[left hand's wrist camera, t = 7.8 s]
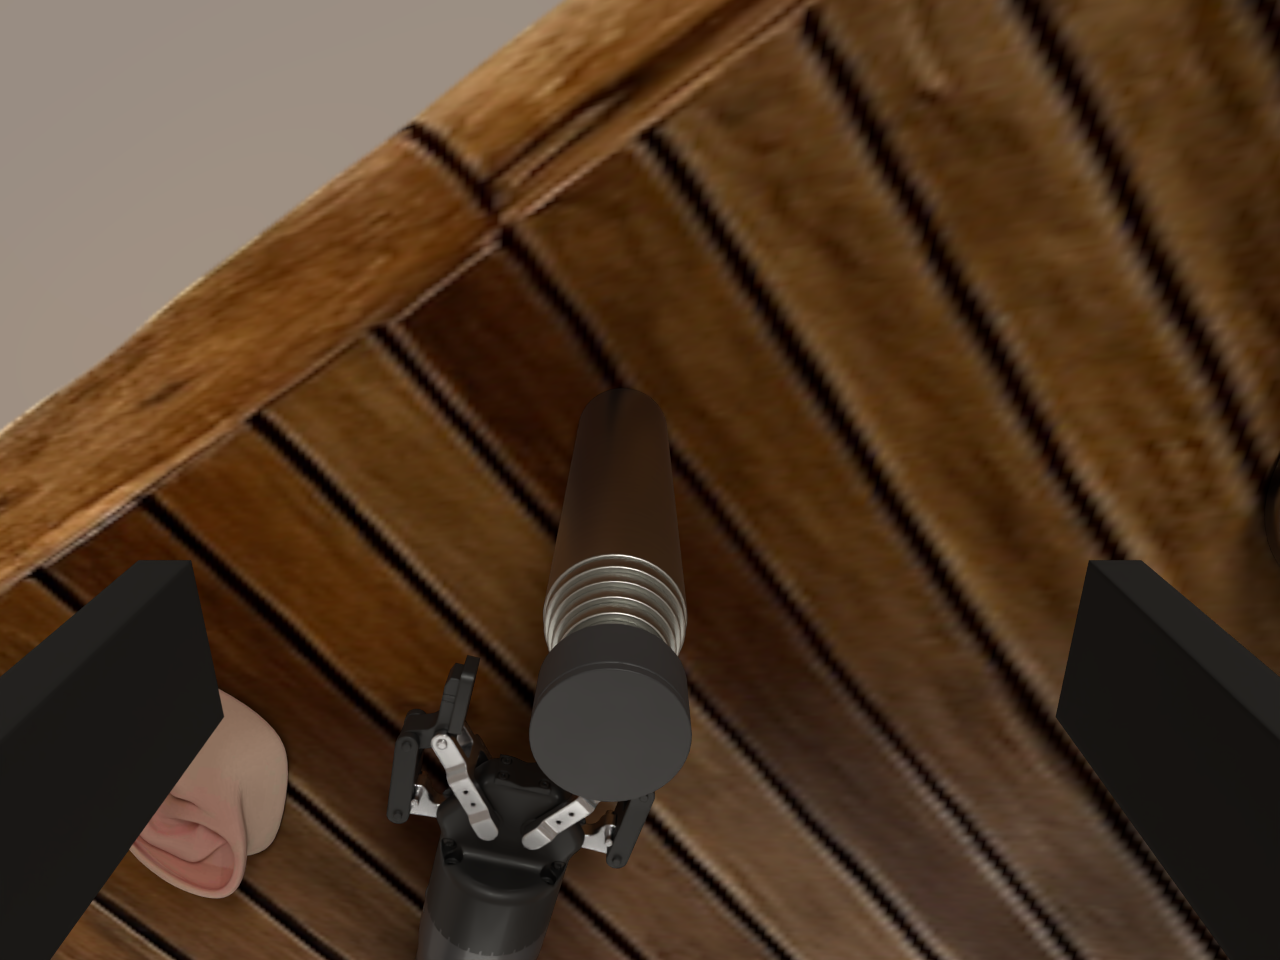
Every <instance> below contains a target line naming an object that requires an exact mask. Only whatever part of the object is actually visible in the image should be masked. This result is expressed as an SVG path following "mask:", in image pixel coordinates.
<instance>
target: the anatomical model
mask: <svg viewBox="0 0 1280 960" xmlns="http://www.w3.org/2000/svg"><path fill="white" fill-rule="evenodd" d="M218 690H219V694H220V699H221V704H222V708H223V713H224V718H223V719H222V721H221V722H220V724H219V725H218V726H217V728H216V729H215V731H214V732H213V733H212V735H211V736H210V737H209V739H208V740H207V742H206V743H205V744H204V746H203V747H202V749H201V750H200V751H199V753H198V754H197V756H196V757H195V758H194V760H193V761H192V763H191V764H190V765H189V767H188V768H187V770H186V771H185V772H184V774H183V775H182V777H181V778H180V779H179V781H178V782H177V783H176V785H175V786H174V788H173V789H172V790H171V792H170V793H169V795H168V796H167V797H166V799H165V800H164V802H163V803H162V804H161V806H160V807H159V809H158V810H157V811H156V813H155V814H154V816H153V817H152V818H151V820H150V821H149V823H148V824H147V825H146V827H145V828H144V829H143V831H142V832H141V834H140V835H139V836H138V838H137V839H136V841H135V842H134V843H133V845H132V846H131V848H130V849H129V850H130V851H131V852H132V853H133V854H134V855H135V856H136V858H137V859H138V860H139V861H141V862H142V863H143V864H144V865H145V866H146V867H147V868H149V869H150V870H151V871H152V872H154V873H155V874H156V875H158V876H159V877H161V878H162V879H164V880H165V881H167V882H168V883H170V884H172V885H174V886H176V887H178V888H180V889H182V890H184V891H187V892H189V893H192V894H196V895H199V896H203V897H208V898H223V897H226V896H229V895H230V894H232V893H233V892H234V891H235V890H236V889H237V888H238V886H239V885H240V883H241V881H242V878H243V875H244V872H245V868H246V861H247V855H252V854H256V853H259V852H261V851H263V850H264V849H266V848H267V847H268V846H269V845H270V844H271V843H272V842H273V840H274V838H275V836H276V834H277V831H278V829H279V826H280V823H281V819H282V815H283V810H284V805H285V799H286V790H287V778H288V764H287V756H286V751H285V748H284V745H283V743H282V741H281V739H280V737H279V736H278V734H277V733H276V732H275V730H274V729H273V728H272V727H271V726H270V725H269V724H268V723H267V722H266V721H265V720H264V719H263V718H262V717H261V716H259V715H258V714H257V713H256V712H254V711H253V710H252V709H250V708H249V707H248V706H246V705H245V704H243V703H242V702H240V701H239V700H237V699H235V698H234V697H232V696H231V695H229V694H227V693H225V692H224V691H222V690H220V689H218Z"/></svg>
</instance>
